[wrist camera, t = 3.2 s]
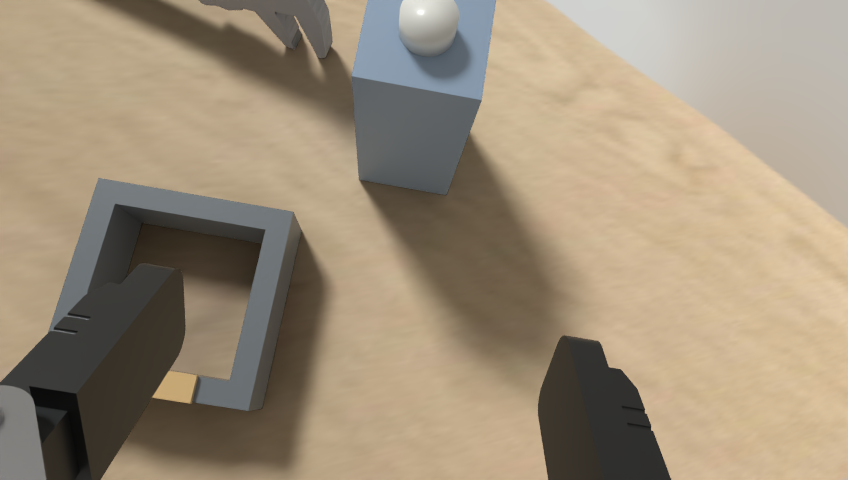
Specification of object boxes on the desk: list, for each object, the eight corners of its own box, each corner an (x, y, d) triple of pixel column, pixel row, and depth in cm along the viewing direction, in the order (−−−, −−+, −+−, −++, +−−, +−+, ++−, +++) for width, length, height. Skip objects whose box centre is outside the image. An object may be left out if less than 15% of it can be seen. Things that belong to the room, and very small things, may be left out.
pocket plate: (261, 409, 26) (246, 412, 23) (71, 379, 26) (29, 378, 23) (301, 229, 28) (292, 210, 25) (127, 199, 28) (96, 176, 25)
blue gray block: (446, 195, 29) (487, 85, 19) (358, 179, 29) (350, 59, 19) (458, 115, 31) (503, -30, 20) (374, 100, 30) (374, -55, 20)
